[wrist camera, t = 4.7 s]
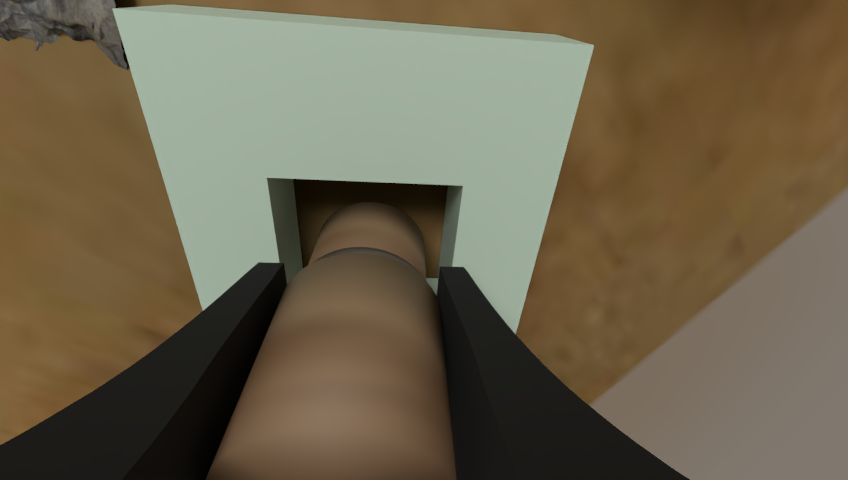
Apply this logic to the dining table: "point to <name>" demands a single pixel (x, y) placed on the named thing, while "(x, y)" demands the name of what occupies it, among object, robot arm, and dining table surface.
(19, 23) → the driftwood
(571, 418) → the robot arm
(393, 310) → the peg
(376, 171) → the board
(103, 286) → the dining table surface
